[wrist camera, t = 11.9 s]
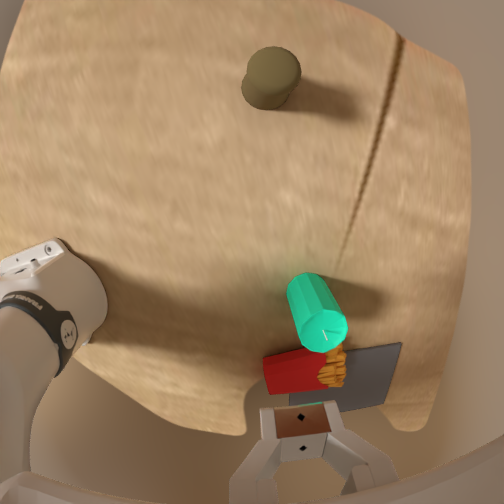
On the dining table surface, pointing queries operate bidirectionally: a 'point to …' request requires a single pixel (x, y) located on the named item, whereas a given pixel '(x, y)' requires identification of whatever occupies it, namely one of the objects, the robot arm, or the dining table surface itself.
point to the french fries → (304, 370)
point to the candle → (316, 313)
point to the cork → (270, 77)
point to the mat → (358, 380)
